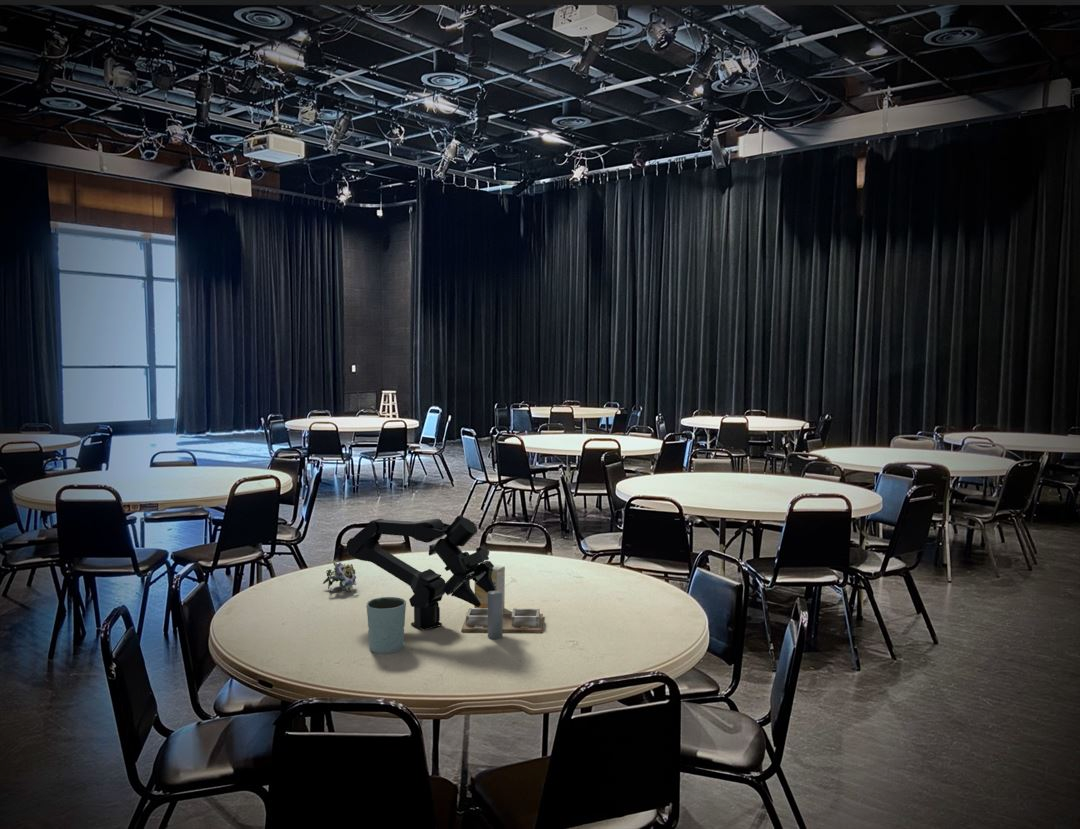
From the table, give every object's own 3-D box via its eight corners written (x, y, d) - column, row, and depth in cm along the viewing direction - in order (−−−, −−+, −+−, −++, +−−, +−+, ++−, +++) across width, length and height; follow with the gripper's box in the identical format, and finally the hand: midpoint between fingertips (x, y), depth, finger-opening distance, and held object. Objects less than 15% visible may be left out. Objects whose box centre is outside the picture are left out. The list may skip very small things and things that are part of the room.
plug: (494, 640, 210) (494, 595, 209) (484, 636, 213) (484, 592, 212) (505, 636, 212) (505, 592, 212) (496, 633, 215) (495, 589, 215)
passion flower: (350, 607, 257) (350, 584, 250) (317, 601, 257) (316, 577, 250) (360, 580, 266) (360, 557, 258) (329, 574, 266) (328, 551, 258)
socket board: (461, 631, 216) (461, 619, 216) (467, 616, 230) (467, 604, 230) (541, 632, 216) (541, 620, 216) (542, 616, 230) (542, 605, 230)
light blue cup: (389, 638, 211) (388, 594, 210) (414, 647, 205) (414, 601, 204) (358, 649, 203) (358, 603, 203) (384, 658, 197) (383, 610, 196)
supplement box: (473, 608, 238) (473, 565, 237) (482, 604, 242) (481, 562, 241) (497, 612, 234) (497, 569, 233) (505, 608, 238) (505, 565, 237)
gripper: (452, 545, 206) (489, 591, 202) (487, 532, 223) (522, 574, 219) (427, 571, 210) (463, 618, 206) (464, 556, 227) (498, 599, 222)
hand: (488, 601), depth 213 cm, fingers open, 9 cm apart
